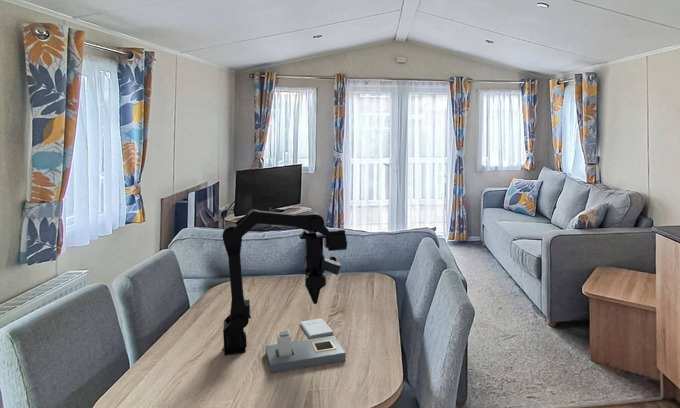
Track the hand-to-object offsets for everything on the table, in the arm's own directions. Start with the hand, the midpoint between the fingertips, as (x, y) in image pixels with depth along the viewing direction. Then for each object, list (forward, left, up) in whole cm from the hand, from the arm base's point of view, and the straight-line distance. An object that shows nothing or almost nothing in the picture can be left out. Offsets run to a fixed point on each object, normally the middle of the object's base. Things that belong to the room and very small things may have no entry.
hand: (314, 298), depth 138 cm
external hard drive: (+2, +8, -15) cm, 17 cm away
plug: (-12, -10, -14) cm, 21 cm away
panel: (-6, -10, -14) cm, 18 cm away
